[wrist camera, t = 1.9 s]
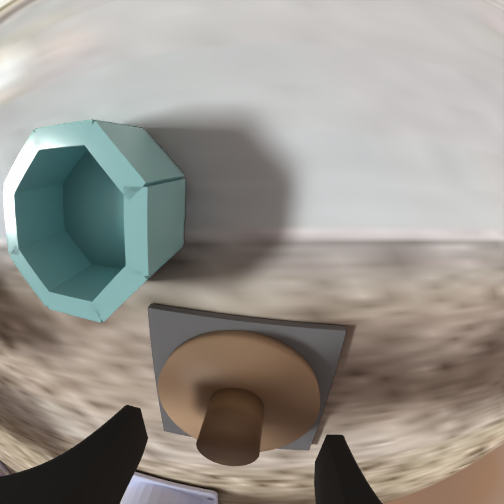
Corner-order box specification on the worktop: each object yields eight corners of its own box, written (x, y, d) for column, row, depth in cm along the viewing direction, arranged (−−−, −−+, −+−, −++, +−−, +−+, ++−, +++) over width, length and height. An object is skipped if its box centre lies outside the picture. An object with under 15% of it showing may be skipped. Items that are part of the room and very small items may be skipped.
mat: (308, 444, 14) (309, 450, 14) (166, 425, 15) (164, 430, 14) (344, 325, 12) (346, 330, 11) (151, 303, 12) (147, 307, 12)
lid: (303, 446, 14) (303, 495, 10) (170, 428, 14) (151, 473, 11) (334, 338, 11) (347, 394, 8) (157, 317, 12) (122, 363, 9)
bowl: (185, 287, 12) (152, 333, 8) (65, 268, 12) (17, 298, 9) (191, 127, 10) (151, 114, 7) (61, 135, 10) (3, 135, 7)
